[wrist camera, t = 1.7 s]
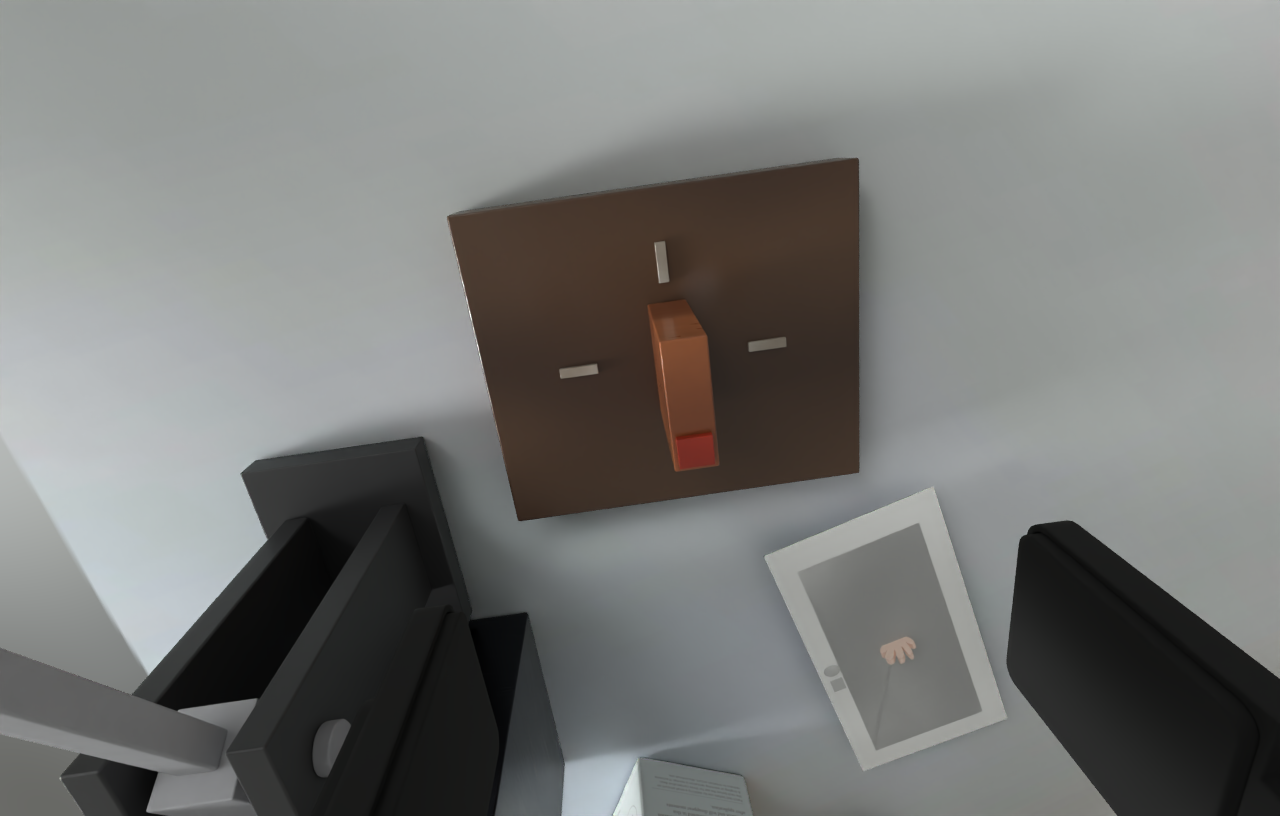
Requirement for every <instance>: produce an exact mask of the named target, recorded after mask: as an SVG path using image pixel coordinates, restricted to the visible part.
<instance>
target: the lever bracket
mask: <svg viewBox="0 0 1280 816" xmlns="http://www.w3.org/2000/svg"><path fill="white" fill-rule="evenodd" d="M241 477H242V479H243V482H244V484H245V486H246V489H247V491H248V494H249V496H250V499H251V501H252V503H253V506H254V508H255V511H256V513H257V515H258V518H259V520H260V523H261V525H262V528H263V530H264V532H265V535H266V537H267V541H266V543H265V544H264V545H263V546H262V547H261V548H260V549H259V551H258V552H257V553H256V554H255V555H254V556H253V557H252V559H251V560H250V561H249V562H248V563H247V564H246V565H245V566H244V568H243V569H242V570H241V571H240V572H239V573H238V574H237V576H236V577H235V578H234V579H233V580H232V581H231V582H230V584H229V585H228V586H227V587H226V588H225V589H224V590H223V592H222V593H221V594H220V595H219V596H218V597H217V598H216V599H215V601H214V602H213V603H212V604H211V605H210V606H209V607H208V609H207V610H206V611H205V612H204V613H203V614H202V615H201V617H200V618H199V619H198V620H197V621H196V622H195V623H194V624H193V626H192V627H191V628H190V629H189V630H188V631H187V632H186V634H185V635H184V636H183V637H182V638H181V639H180V640H179V642H178V643H177V644H176V645H175V646H174V647H173V648H172V650H171V651H170V652H169V653H168V654H167V655H166V656H165V657H164V659H163V660H162V661H161V662H160V663H159V664H158V665H157V667H156V668H155V669H154V670H153V671H152V672H151V673H150V675H149V676H148V677H147V678H146V679H145V680H144V681H143V682H142V684H141V685H140V686H139V687H138V688H137V689H136V691H135V692H134V693H133V694H132V695H133V696H136V697H139V698H142V699H144V700H147V701H150V702H153V703H155V704H158V705H161V706H164V707H167V708H169V709H172V710H175V711H178V710H180V709H186V708H193V707H200V706H207V705H214V704H221V703H228V702H235V701H241V700H248V699H255V698H257V699H259V701H258V702H257V704H256V705H255V707H254V709H253V710H252V712H251V713H250V715H249V716H248V718H247V720H246V721H245V723H244V724H243V726H242V727H241V729H240V731H239V732H238V734H237V735H236V737H235V738H234V740H233V742H232V743H231V745H230V746H229V748H228V749H227V751H226V757H227V759H228V761H229V763H230V765H231V767H232V768H233V770H234V772H235V774H236V776H237V778H238V780H239V782H240V784H241V786H242V788H243V790H244V792H245V793H246V795H247V797H248V799H249V801H250V803H251V805H252V807H253V809H254V811H255V813H256V815H257V816H310V815H311V813H312V810H313V808H314V806H315V804H316V802H317V799H318V797H319V795H320V793H321V791H322V788H323V786H324V784H325V782H326V780H327V778H328V775H329V773H330V771H331V769H332V767H333V764H334V762H335V760H336V758H337V756H338V754H339V751H340V749H341V747H342V745H343V743H344V740H345V738H346V736H347V734H348V732H349V729H350V727H351V725H352V723H353V721H354V719H355V716H356V714H357V712H358V710H359V709H360V707H361V706H362V704H363V703H364V702H365V701H367V700H368V699H374V698H375V697H376V695H377V693H378V690H379V688H380V686H381V683H382V681H383V679H384V677H385V674H386V672H387V670H388V667H389V665H390V663H391V660H392V658H393V656H394V654H395V651H396V649H397V647H398V644H399V642H400V640H401V638H402V635H403V633H404V631H405V628H406V626H407V624H408V622H409V619H410V617H411V615H412V613H413V611H414V610H416V609H418V608H426V607H433V606H440V605H448V604H449V605H451V606H452V607H453V608H454V611H455V612H464V614H465V615H466V618H467V622H468V624H469V620H470V617H471V613H472V608H471V605H470V601H469V597H468V594H467V590H466V587H465V583H464V580H463V576H462V573H461V569H460V566H459V562H458V559H457V555H456V552H455V548H454V545H453V541H452V538H451V534H450V531H449V527H448V524H447V520H446V517H445V513H444V510H443V506H442V503H441V499H440V496H439V492H438V489H437V485H436V482H435V478H434V475H433V471H432V467H431V464H430V460H429V457H428V453H427V450H426V446H425V443H424V439H423V437H418V438H410V439H403V440H396V441H389V442H382V443H375V444H368V445H361V446H354V447H347V448H340V449H333V450H326V451H319V452H312V453H305V454H298V455H291V456H284V457H277V458H270V459H263V460H256V461H254V462H253V463H252V464H251V465H250V466H249V467H247V468H246V469H245V470H244V471H243V472H242V473H241ZM157 775H158V772H157V771H153V770H149V769H145V768H141V767H136V766H132V765H128V764H124V763H119V762H115V761H111V760H107V759H103V758H98V757H94V756H90V755H86V754H81V753H80V754H79V755H78V756H77V758H76V759H75V760H74V761H73V762H72V763H71V765H69V767H68V768H67V769H66V770H65V771H64V773H62V775H61V776H60V780H61V781H62V783H63V784H64V786H65V788H66V789H67V790H68V792H69V794H70V795H71V797H72V798H73V800H74V801H75V803H76V804H77V805H78V807H79V809H80V810H81V811H82V813H83V815H84V816H166V815H160V814H154V813H148V812H146V809H147V806H148V803H149V800H150V797H151V794H152V791H153V787H154V784H155V781H156V778H157Z"/></svg>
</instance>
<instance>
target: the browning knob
mask: <svg viewBox="0 0 1280 816" xmlns="http://www.w3.org/2000/svg"><path fill="white" fill-rule="evenodd" d="M647 307H648V315H649V323H650V330H651V338H652V346H653V354H654V362H655V369H656V377H657V385H658V393H659V401H660V408H661V414H662V418H663V423H664V427H665V431H666V436H667V440H668V444H669V448H670V453H671V457H672V461H673V466H674V470H675V471H676V472H678V471H685V470H692V469H699V468H706V467H713V466H718V465H719V453H718V443H717V432H716V422H715V411H714V400H713V390H712V379H711V368H710V358H709V347H708V336H707V335H706V333H705V331H704V330H703V328H702V326H701V325H700V323H699V321H698V320H697V318H696V316H695V315H694V313H693V311H692V310H691V308H690V306H689V304H688V303H687V301H686V300H685V299H684V300H677V301H670V302H663V303H656V304H649V305H648V306H647Z"/></svg>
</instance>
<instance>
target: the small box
mask: <svg viewBox="0 0 1280 816" xmlns="http://www.w3.org/2000/svg"><path fill="white" fill-rule="evenodd" d="M613 816H754V815H753V811H752V807H751V803H750V798H749V794H748V790H747V786H746V782H745V779H744V778H743V777H742V776H741V775H735V774H729V773H724V772H718V771H713V770H707V769H701V768H696V767H691V766H685V765H681V764H676V763H670V762H665V761H659V760H652V759H647V758H638V759H637V761H636V763H635V766H634V768H633V770H632V773H631V775H630V777H629V779H628V782H627V784H626V786H625V789H624V791H623V793H622V796H621V798H620V800H619V803H618V805H617V807H616V809H615V812H614V814H613Z"/></svg>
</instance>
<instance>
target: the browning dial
mask: <svg viewBox="0 0 1280 816" xmlns="http://www.w3.org/2000/svg"><path fill="white" fill-rule="evenodd" d="M447 221H448V225H449V229H450V234H451V238H452V242H453V246H454V251H455V255H456V259H457V263H458V268H459V272H460V276H461V280H462V284H463V289H464V293H465V297H466V301H467V306H468V310H469V314H470V318H471V323H472V327H473V331H474V335H475V340H476V344H477V348H478V352H479V357H480V361H481V365H482V369H483V374H484V378H485V382H486V386H487V391H488V395H489V399H490V403H491V408H492V412H493V416H494V420H495V425H496V429H497V433H498V437H499V442H500V446H501V450H502V454H503V459H504V463H505V467H506V471H507V476H508V480H509V484H510V488H511V492H512V497H513V501H514V505H515V509H516V514H517V518H518V521H525V520H532V519H539V518H546V517H553V516H560V515H567V514H574V513H581V512H588V511H595V510H602V509H609V508H616V507H623V506H630V505H637V504H644V503H651V502H658V501H665V500H672V499H679V498H686V497H693V496H700V495H707V494H713V493H720V492H727V491H734V490H741V489H748V488H755V487H762V486H769V485H776V484H783V483H790V482H797V481H804V480H811V479H818V478H825V477H832V476H839V475H846V474H853V473H859V159H858V158H834V159H827V160H820V161H813V162H806V163H799V164H792V165H785V166H778V167H771V168H764V169H757V170H749V171H742V172H735V173H728V174H721V175H714V176H707V177H700V178H693V179H686V180H679V181H672V182H665V183H657V184H650V185H643V186H636V187H629V188H622V189H615V190H608V191H601V192H594V193H587V194H580V195H573V196H565V197H558V198H551V199H544V200H537V201H530V202H523V203H516V204H509V205H502V206H495V207H488V208H481V209H473V210H466V211H460V212H457V213H454V214H452V215H449V216H447ZM684 299H685V300H686V301H687V303H688V304H689V306H690V308H691V310H692V311H693V313H694V315H695V316H696V318H697V320H698V321H699V323H700V325H701V326H702V328H703V330H704V331H705V333H706V335H707V336H708V347H709V358H710V368H711V379H712V390H713V400H714V411H715V422H716V432H717V443H718V453H719V465H718V466H713V467H706V468H699V469H692V470H685V471H678V472H676V471H675V470H674V466H673V461H672V457H671V453H670V448H669V444H668V440H667V436H666V431H665V427H664V423H663V418H662V414H661V408H660V401H659V393H658V385H657V377H656V369H655V362H654V354H653V346H652V338H651V330H650V323H649V315H648V307H647V306H648V305H649V304H656V303H663V302H670V301H677V300H684Z"/></svg>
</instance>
